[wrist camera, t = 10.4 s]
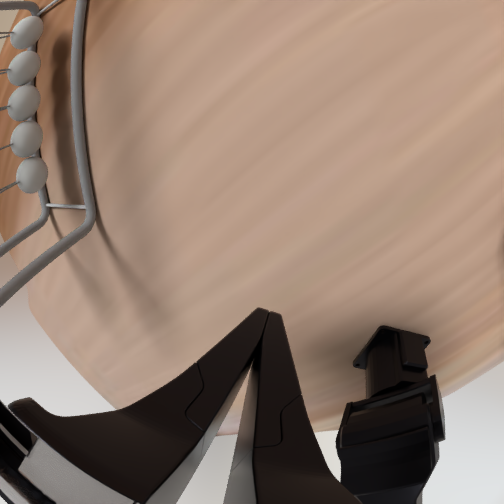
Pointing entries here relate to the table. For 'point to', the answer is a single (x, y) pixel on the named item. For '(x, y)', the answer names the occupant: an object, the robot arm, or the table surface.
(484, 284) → the table surface
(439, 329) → the table surface
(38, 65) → the newton's cradle
